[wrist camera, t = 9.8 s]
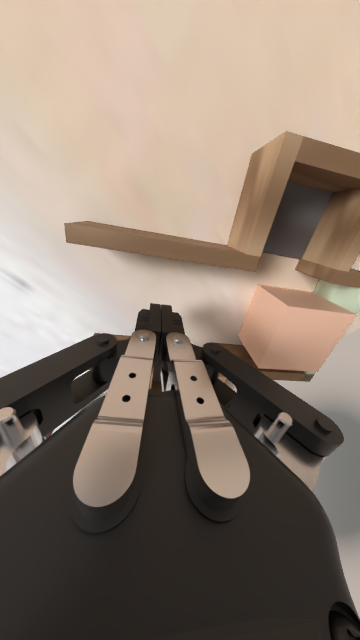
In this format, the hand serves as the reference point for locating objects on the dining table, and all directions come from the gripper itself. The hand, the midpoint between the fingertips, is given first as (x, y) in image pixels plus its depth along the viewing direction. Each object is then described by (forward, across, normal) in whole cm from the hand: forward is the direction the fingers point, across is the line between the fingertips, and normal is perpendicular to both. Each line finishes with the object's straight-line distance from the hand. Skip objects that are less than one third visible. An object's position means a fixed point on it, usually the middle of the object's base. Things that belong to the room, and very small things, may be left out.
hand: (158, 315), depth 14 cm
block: (+4, -12, +1) cm, 13 cm away
